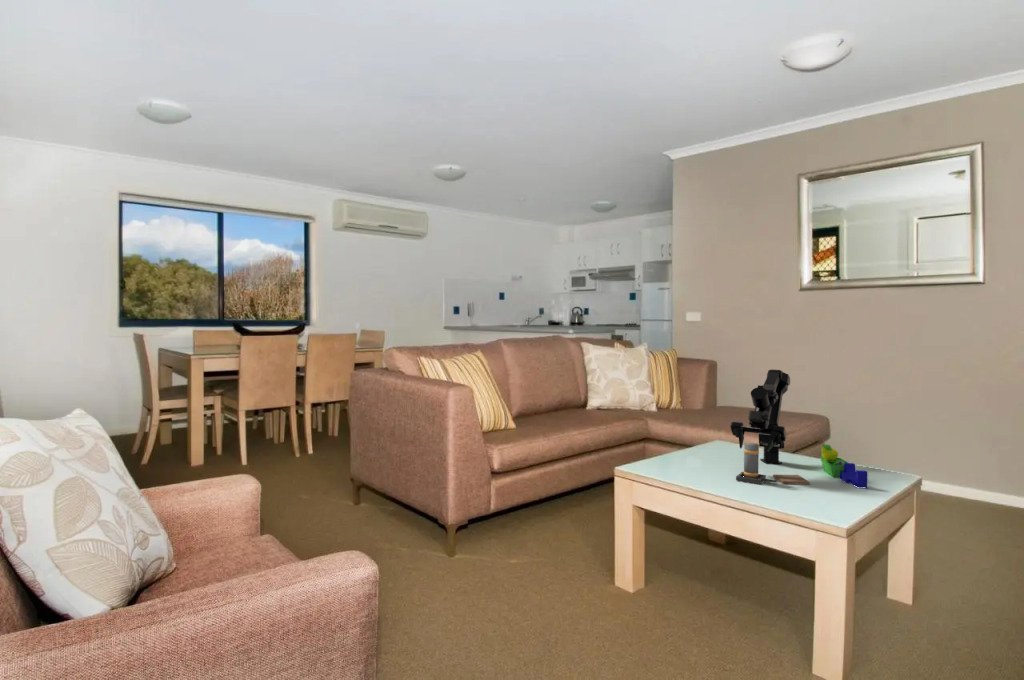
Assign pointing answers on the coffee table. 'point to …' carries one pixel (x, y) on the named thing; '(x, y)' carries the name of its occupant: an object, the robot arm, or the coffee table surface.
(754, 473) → the orange-banded grey cylinder
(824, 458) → the fruit basket
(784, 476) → the walnut pad
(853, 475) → the cable clip
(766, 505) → the coffee table surface
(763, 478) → the collar
